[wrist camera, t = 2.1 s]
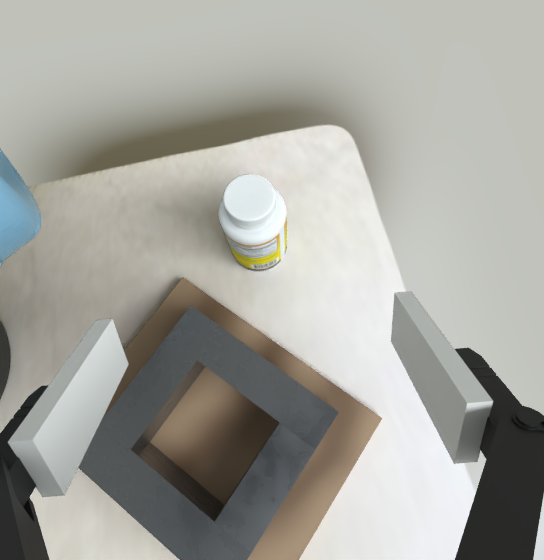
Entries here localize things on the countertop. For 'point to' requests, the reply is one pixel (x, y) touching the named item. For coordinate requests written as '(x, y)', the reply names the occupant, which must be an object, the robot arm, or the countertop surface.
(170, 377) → the square socket
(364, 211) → the countertop surface
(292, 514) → the brown base board
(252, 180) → the supplement bottle
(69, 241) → the countertop surface
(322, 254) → the countertop surface
